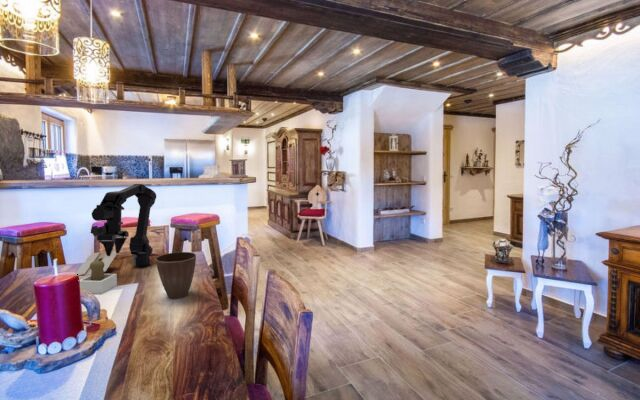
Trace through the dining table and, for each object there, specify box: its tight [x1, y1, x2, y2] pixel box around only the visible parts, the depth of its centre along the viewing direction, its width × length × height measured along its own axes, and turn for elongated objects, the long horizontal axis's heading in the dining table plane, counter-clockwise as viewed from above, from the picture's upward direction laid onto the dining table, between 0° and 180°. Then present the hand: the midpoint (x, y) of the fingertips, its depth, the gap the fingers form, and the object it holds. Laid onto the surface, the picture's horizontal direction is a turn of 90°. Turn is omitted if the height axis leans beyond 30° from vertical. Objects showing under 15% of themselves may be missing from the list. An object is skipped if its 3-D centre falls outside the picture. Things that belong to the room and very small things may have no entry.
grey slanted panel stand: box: [74, 249, 118, 276], centre depth 170 cm, size 16×9×15 cm
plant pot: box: [155, 251, 197, 300], centre depth 138 cm, size 15×15×16 cm
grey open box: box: [79, 273, 118, 295], centre depth 145 cm, size 10×10×5 cm
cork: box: [90, 261, 105, 281], centre depth 145 cm, size 6×6×11 cm
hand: (113, 254), depth 156 cm, fingers open, 9 cm apart
